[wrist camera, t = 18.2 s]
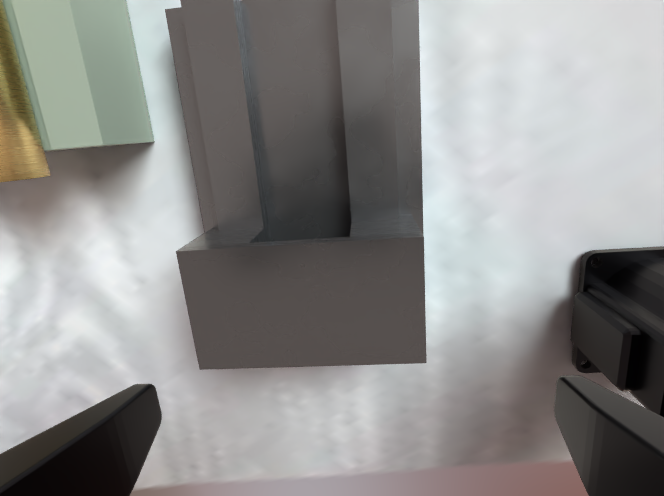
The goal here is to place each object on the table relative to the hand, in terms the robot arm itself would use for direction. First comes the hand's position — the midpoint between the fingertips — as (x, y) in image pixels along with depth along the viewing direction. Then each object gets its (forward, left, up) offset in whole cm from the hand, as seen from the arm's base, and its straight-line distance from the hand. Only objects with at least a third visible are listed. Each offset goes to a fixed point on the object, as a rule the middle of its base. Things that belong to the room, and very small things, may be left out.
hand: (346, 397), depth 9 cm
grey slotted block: (+2, -4, -12) cm, 13 cm away
